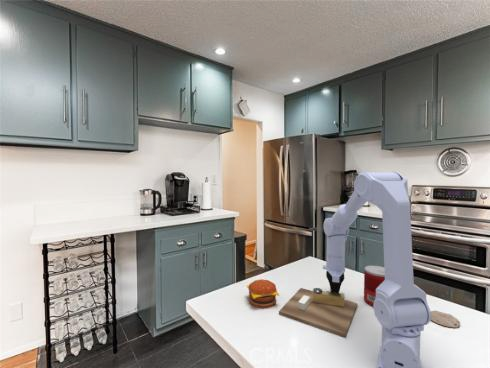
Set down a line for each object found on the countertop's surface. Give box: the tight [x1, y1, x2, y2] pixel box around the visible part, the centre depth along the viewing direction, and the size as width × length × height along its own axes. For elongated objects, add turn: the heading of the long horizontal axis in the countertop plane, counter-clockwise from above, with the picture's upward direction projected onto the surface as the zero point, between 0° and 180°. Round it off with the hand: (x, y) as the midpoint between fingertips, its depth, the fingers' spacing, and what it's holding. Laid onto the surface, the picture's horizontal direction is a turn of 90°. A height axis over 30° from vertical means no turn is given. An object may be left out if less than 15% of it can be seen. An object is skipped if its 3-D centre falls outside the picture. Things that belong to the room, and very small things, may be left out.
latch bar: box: [312, 287, 346, 307], centre depth 79 cm, size 10×3×4 cm, turn 71°
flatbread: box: [430, 310, 461, 329], centre depth 72 cm, size 8×8×1 cm
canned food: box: [363, 265, 385, 307], centre depth 81 cm, size 8×8×11 cm
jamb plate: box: [278, 287, 359, 338], centre depth 77 cm, size 18×19×1 cm
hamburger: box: [246, 279, 280, 309], centre depth 82 cm, size 9×10×7 cm
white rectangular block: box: [298, 295, 310, 310], centre depth 77 cm, size 5×2×2 cm, turn 146°
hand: (334, 294), depth 83 cm, fingers closed
